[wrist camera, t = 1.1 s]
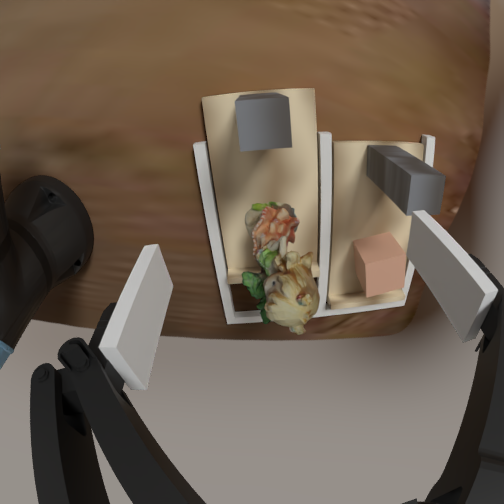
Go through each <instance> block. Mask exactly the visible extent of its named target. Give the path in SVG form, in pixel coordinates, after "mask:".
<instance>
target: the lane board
mask: <svg viewBox="0 0 504 504" xmlns="http://www.w3.org/2000/svg"><path fill="white" fill-rule="evenodd" d="M421 144H423V145H424V149H423V162H425V163H426V164H428V165H430V166H431V167H433V159H434V147H435V137H433V136H430V135H422V142H421ZM193 147H194V154H195V160H196V166H197V172H198V177H199V183H200V189H201V195H202V200H203V206H204V211H205V217H206V222H207V227H208V233H209V238H210V243H211V248H212V253H213V258H214V263H215V268H216V273H217V278H218V283H219V287H220V292H221V297H222V302H223V306H224V311H225V315H226V320H227V324H237V323H253V322H263V320H262V318H261V314H260V311H261V310H255V311H241V312H235V310H234V304H233V299H232V293H231V288H230V284H228V282H227V275H228V271H227V266H226V260H225V254H224V248H223V243H222V237H221V231H220V225H219V219H218V213H217V207H216V200H215V194H214V188H213V182H212V175H211V169H210V162H209V155H208V149H207V142H206V141H204V142H197V143H195V144H194V145H193ZM318 166H319V232H318V266H319V270H320V277H317V288H318V292H319V296H320V301H319V307H318V310H317V313H316V314H315V315H314V316H313V317H321V316H330V315H339V314H347V313H355V312H363V311H370V310H377V309H384V308H391V307H397V306H404V304H405V301H406V297H407V294H408V290H409V287H410V283H411V279H412V276H413V272H414V268H415V267H414V265H413V264H412V263H411V261H410V260H409V258H407V262H406V267H405V283H404V288H402V290H403V292H404V294H405V300H402V301H395V302H388V303H381V304H374V305H367V306H359V307H351V308H343V309H334V310H331V308H330V305H329V304H326V297H327V285H328V270H329V254H330V233H331V202H332V137H331V133H330V132H318Z"/></svg>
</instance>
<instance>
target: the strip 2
mask: <svg viewBox="0 0 504 504" xmlns="http://www.w3.org/2000/svg"><path fill="white" fill-rule="evenodd" d="M423 149H424V145H423V144H421V143H413V142H392V141H332V212H331V239H330V258H329V274H328V288H327V303H328V304H329V305H330V308H331V310H334V309H343V308H351V307H359V306H367V305H374V304H381V303H388V302H395V301H402V300H405V294H404V292H403V290H402V288H400V289H397V290H393V291H390V292H386V293H383V294H379V295H375V296H371V297H368V298H366V295H365V293H364V291H363V288H362V286H361V284H360V281H359V279H358V277H357V275H356V272H355V260H354V249H353V240H357V239H361V238H366V237H370V236H374V235H378V234H382V233H386V232H390V233H391V234H392V235H393V237H394V238H395V239H396V241H397V242H398V243H399V245H400V246H401V248H402V249H403V250H404V252H405V253H407V247H408V241H409V234H410V227H411V219H412V211H420V210H425V211H426V212H427V213H428V214H429V215H436V214H440V209H441V203H442V197H443V191H444V185H445V178H446V176H445V175H443V174H442V173H440V172H439V171H437V170H436V169H434V168H433V167H431V166H430V165H428V164H426V163H425V162H423ZM407 258H408V257H407V256H406V262H407Z"/></svg>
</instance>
